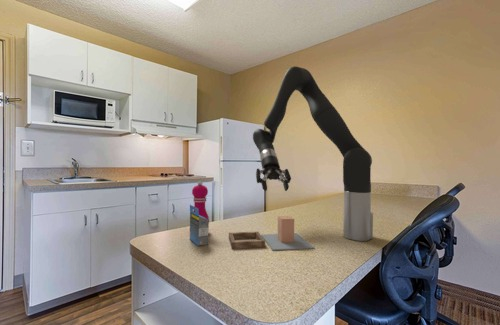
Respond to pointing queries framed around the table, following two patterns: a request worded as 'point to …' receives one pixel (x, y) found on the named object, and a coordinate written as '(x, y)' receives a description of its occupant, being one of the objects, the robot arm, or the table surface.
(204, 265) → the table surface
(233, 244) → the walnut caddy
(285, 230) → the terracotta block
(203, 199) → the pepper mill
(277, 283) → the table surface
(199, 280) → the table surface
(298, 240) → the slate mat
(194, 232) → the label tape cartridge
